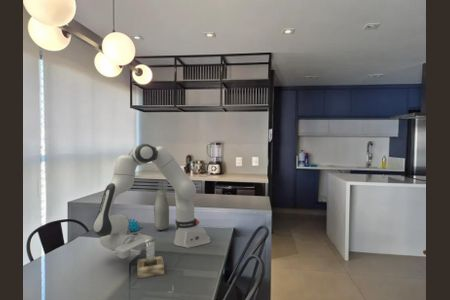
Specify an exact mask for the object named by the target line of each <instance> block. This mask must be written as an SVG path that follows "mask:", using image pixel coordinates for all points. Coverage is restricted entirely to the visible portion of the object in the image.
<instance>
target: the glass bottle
mask: <svg viewBox="0 0 450 300" xmlns="http://www.w3.org/2000/svg"><path fill="white" fill-rule="evenodd" d="M167 198H168V197H167V192H166V190H164V189H160V190H159V189H158V190H156V192H155V201H154V205H153V215H154V216H153V217H154V218H153V219H154V221H153V223H154V226H155V227H154V228H155V229H156V230H157V231H163V230H164V231H165V230H166V229H167V228H168V227H169V225H170V206H169V203H168V202H169V201H168V199H167Z"/></svg>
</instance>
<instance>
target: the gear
mask: <svg viewBox="0 0 450 300" xmlns="http://www.w3.org/2000/svg"><path fill="white" fill-rule="evenodd" d="M140 225H141V222H139V223H138V220H136V219H134V218H133V219H132V218H130V219H129V229H128V231H131V232H136V233H137V231H139V230H140V227H141V226H140Z"/></svg>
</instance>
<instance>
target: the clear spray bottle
mask: <svg viewBox="0 0 450 300" xmlns="http://www.w3.org/2000/svg"><path fill="white" fill-rule="evenodd" d="M151 237H152V238H150V239H148V240H146V241H145V242H144V243H145V244H146V248H145V258H146V266H152V265H155V257H156V256H155V253H156V252H155V243H156V242H155V241H156V239H157V237H156V236H151Z"/></svg>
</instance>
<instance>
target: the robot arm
mask: <svg viewBox="0 0 450 300" xmlns="http://www.w3.org/2000/svg"><path fill="white" fill-rule="evenodd" d="M150 162H151V163H153V164H154V165H155V166H156V168H157V169H158V170H159V171H160V173H161V174H162V175H163V177H164V178H165V179H166V180H167V182H168V184H169V185H170V186H171V187H172V188H173V189H174V197H175V217H176V219H175V222H174V223H175V226H174V227H175V233H174V234H175V236H174V238H173V239H174V240H173V245H176V246H177V247H183V248H185V249H186V248H187V249H188V248H193V247H197V246H198V247H199V246H202V245H208V244H210V243H211V237H210V236H209V235H208V234H207V231H206V230H205V228H204V227H203V226H201V225H199V224H200V220H198V219H197V218H195V204H194V197H195V196H196V195H197V194H196V193H197V188H196V184H195V183H194V182H193V181H192V179H191V178H190V177H189V176H188V174H187V173H186V171H184V169H183V167H181V166H180V164H179V163H178V161H177V160H176V159H175V157H174V156H173V155H172V154H171V152H169V150H168V149H166V147H164V146H161V145H158V146H156V147H155V146H153V145H151V144H148V143H141V144H138V145H136V146H134V148H133V149H132V150H130V152H129V153H128V154H122V155H120V156H118V157H117V158H116V161H115V165H114V169H113V175H112V179H111V180H110V183H109V184H107V186H106V187H105V189H104V191H103V195H102V197H101V202H100V205H99V207H98V208H99V209H98V212H97V214H96V217H95V220H94V222H93V224H92V225H93V226H92V229H93V231H94V233H95V235H96V236H98V237H100V238H99V243H100V245H101V246H102V247H103V248H105V249H107V250H110V251H111V254H113V255H115V256H116V257H118V258H120V259H126V258H128V257H130V256H134V255H135V256H139V255H141V254H142V250H144V249H146V244H145V243H144V242H145V241H146V240H148V239H150V238H152V237H153V236H150V235H146V234H141V232H136V233H131V234H128V233H129V228H130V227H129V222H130V221H129V220H130V219H129V217H128V216H127V215H126V214H115V215H114V214H113V215H112V214H111V213H112V209H113V205H114V202H115V199H116V198H117V197H118V196H119V195H121V194H123V193H126V192H127V191H129V190H130V189H132V187H133V186H134V183H135V177H136V169H137V167H138V166H141V165H142V166H143V165H146V164H148V163H150Z"/></svg>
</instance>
